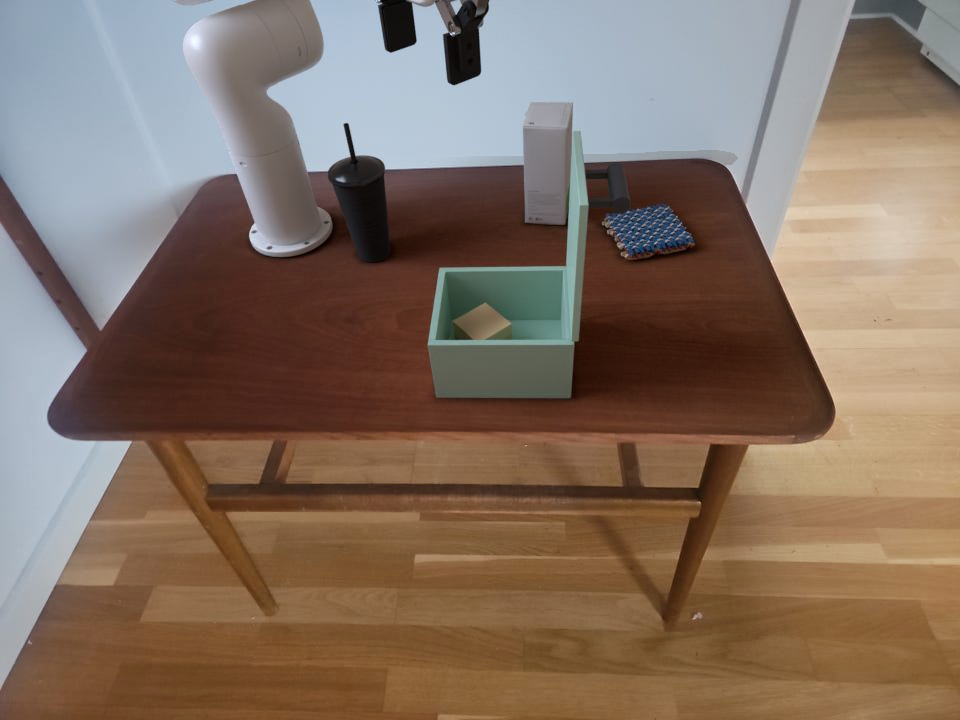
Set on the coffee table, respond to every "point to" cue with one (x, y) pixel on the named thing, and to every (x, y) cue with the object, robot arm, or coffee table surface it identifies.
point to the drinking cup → (363, 201)
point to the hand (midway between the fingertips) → (431, 62)
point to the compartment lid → (579, 219)
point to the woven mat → (648, 232)
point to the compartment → (503, 363)
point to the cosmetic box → (547, 161)
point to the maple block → (482, 325)
